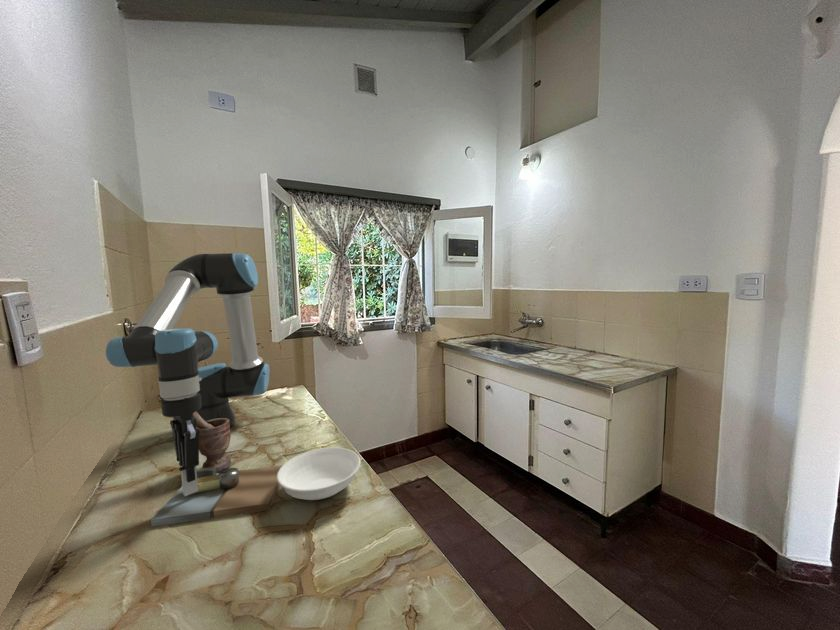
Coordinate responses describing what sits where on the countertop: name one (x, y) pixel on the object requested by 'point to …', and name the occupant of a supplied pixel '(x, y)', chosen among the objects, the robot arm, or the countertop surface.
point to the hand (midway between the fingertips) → (190, 492)
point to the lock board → (222, 498)
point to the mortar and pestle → (214, 441)
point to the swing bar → (219, 480)
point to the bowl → (319, 473)
